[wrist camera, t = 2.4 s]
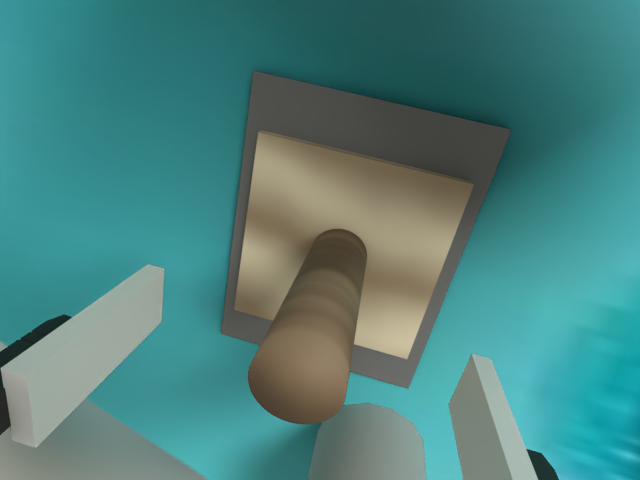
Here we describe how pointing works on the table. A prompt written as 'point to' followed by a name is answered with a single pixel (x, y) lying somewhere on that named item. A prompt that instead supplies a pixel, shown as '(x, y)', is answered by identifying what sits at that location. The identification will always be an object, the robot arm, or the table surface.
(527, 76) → the table surface
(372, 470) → the cup
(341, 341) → the lid
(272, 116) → the mat
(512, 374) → the table surface
